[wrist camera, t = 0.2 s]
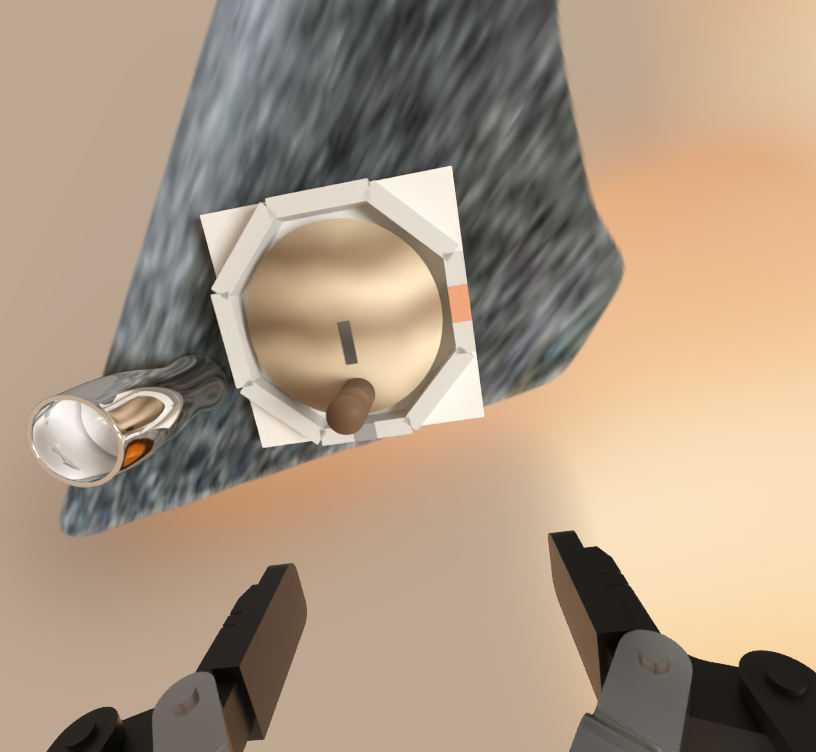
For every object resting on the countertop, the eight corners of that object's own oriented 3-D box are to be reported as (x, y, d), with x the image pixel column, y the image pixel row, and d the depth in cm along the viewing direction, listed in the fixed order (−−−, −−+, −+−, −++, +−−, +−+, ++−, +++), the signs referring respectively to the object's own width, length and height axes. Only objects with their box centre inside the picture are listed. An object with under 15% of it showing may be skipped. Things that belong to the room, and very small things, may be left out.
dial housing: (211, 218, 37) (184, 211, 33) (450, 171, 35) (453, 158, 31) (270, 439, 42) (252, 457, 38) (481, 409, 40) (487, 425, 36)
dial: (232, 239, 35) (182, 230, 28) (426, 203, 34) (425, 183, 26) (279, 421, 39) (245, 455, 32) (454, 396, 38) (460, 425, 30)
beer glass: (212, 339, 40) (88, 376, 25) (244, 401, 41) (145, 471, 27) (153, 364, 41) (1, 414, 26) (186, 424, 42) (60, 503, 28)
